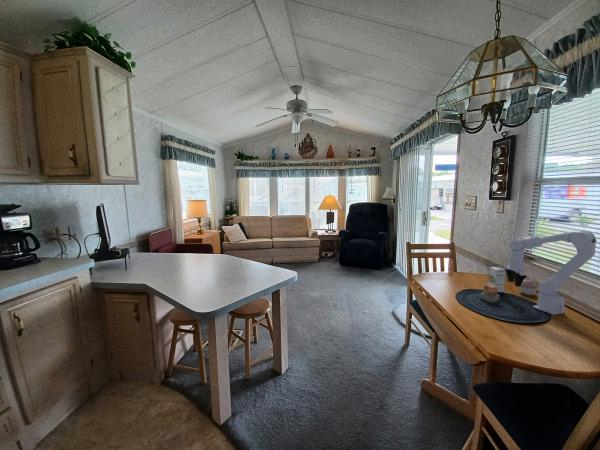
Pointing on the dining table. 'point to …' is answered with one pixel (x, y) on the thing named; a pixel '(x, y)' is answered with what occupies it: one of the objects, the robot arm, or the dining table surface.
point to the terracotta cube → (490, 289)
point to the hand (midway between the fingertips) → (514, 283)
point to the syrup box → (497, 278)
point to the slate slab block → (489, 297)
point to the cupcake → (528, 287)
